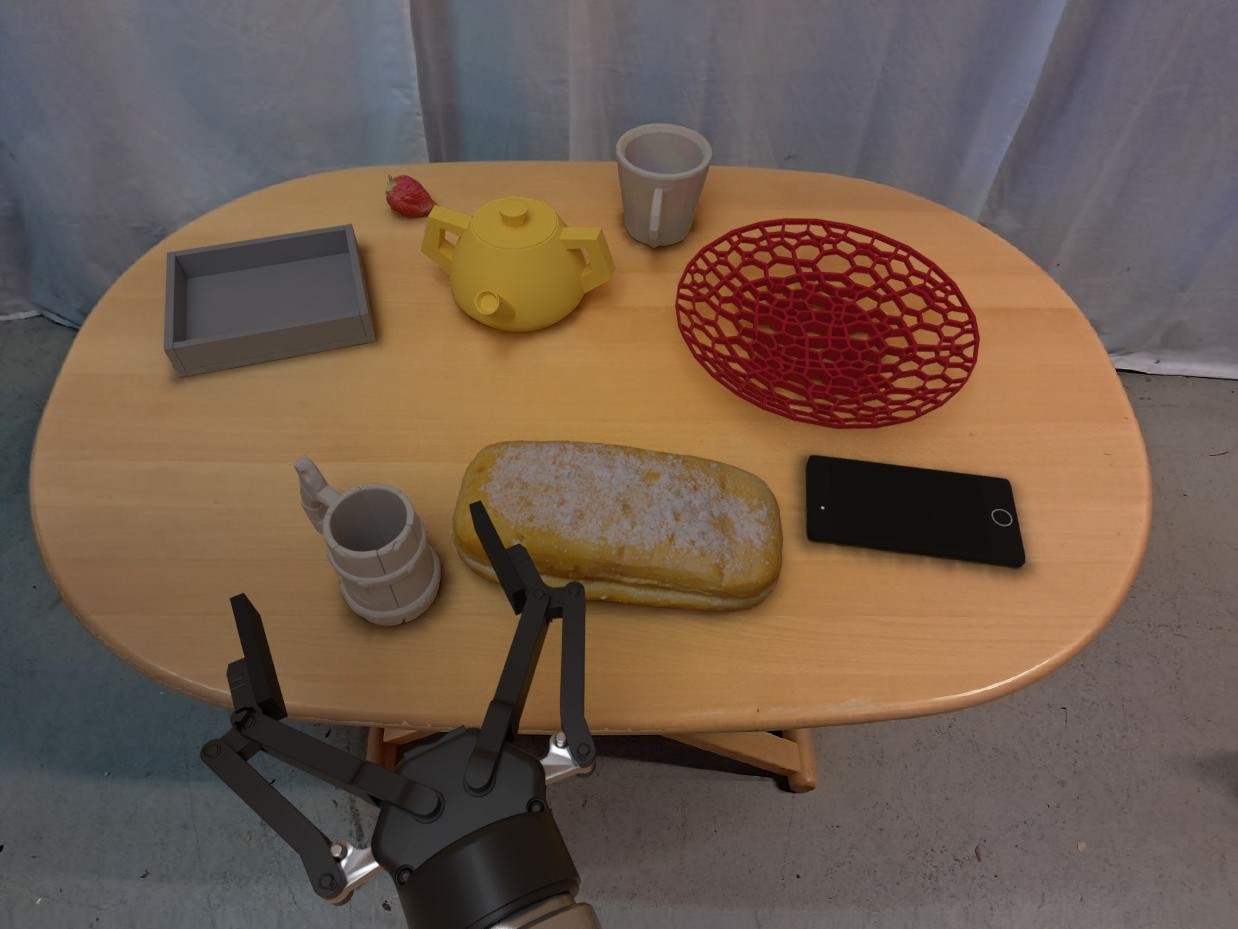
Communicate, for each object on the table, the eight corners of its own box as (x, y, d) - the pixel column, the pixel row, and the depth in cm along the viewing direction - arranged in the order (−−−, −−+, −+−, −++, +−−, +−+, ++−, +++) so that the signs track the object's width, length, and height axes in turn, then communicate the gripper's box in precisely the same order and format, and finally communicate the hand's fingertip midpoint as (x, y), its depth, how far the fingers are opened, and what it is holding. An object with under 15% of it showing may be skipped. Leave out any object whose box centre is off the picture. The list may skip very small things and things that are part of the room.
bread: (473, 469, 71) (462, 411, 65) (769, 489, 71) (787, 432, 65) (444, 605, 63) (428, 553, 57) (779, 627, 63) (800, 578, 57)
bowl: (991, 469, 73) (1015, 434, 69) (670, 452, 73) (675, 416, 69) (929, 262, 91) (945, 224, 87) (671, 248, 91) (675, 210, 87)
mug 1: (396, 648, 61) (361, 570, 51) (289, 569, 65) (238, 483, 55) (463, 576, 65) (442, 491, 55) (358, 506, 69) (321, 414, 59)
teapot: (396, 355, 80) (372, 266, 71) (449, 241, 91) (434, 152, 82) (594, 382, 78) (595, 295, 69) (623, 263, 89) (627, 175, 80)
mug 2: (704, 204, 96) (715, 126, 88) (697, 285, 87) (708, 207, 79) (618, 195, 97) (621, 117, 89) (602, 276, 88) (603, 196, 80)
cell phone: (1022, 569, 67) (1027, 564, 66) (806, 541, 68) (808, 535, 67) (1006, 484, 72) (1010, 478, 71) (805, 459, 73) (807, 453, 72)
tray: (180, 378, 77) (163, 349, 74) (181, 281, 85) (166, 252, 82) (376, 341, 81) (368, 313, 78) (359, 252, 89) (351, 223, 86)
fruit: (432, 226, 92) (425, 188, 88) (382, 220, 92) (372, 182, 89) (442, 204, 95) (436, 166, 91) (393, 199, 95) (384, 161, 91)
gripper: (245, 1103, 34) (165, 678, 45) (738, 820, 42) (565, 514, 53) (171, 1110, 28) (100, 618, 39) (762, 777, 36) (561, 443, 47)
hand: (366, 558), depth 46 cm, fingers open, 13 cm apart
